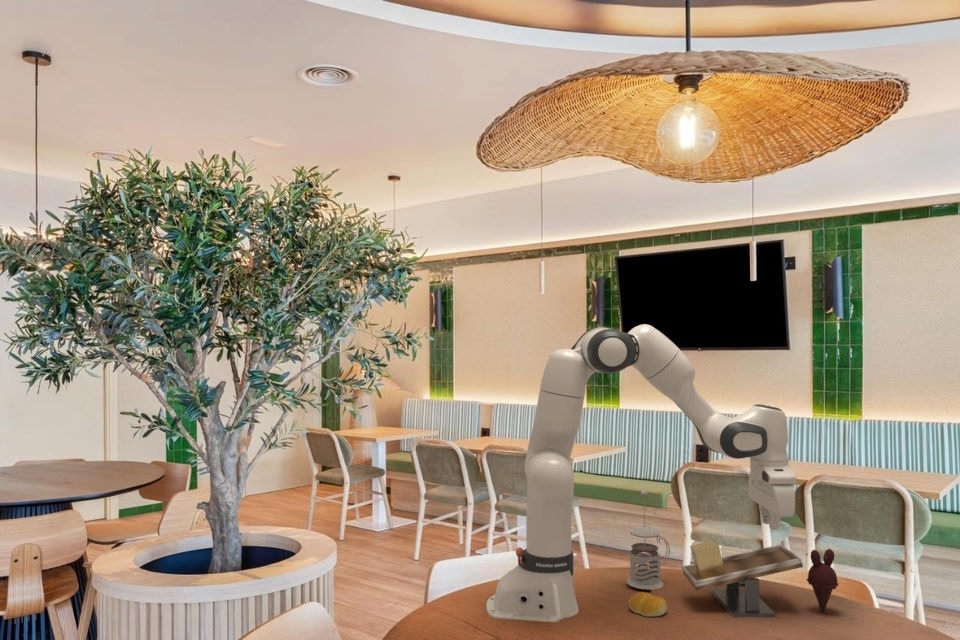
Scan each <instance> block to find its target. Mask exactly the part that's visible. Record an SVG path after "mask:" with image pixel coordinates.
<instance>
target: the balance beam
mask: <svg viewBox="0 0 960 640" xmlns="http://www.w3.org/2000/svg"><path fill="white" fill-rule="evenodd" d="M721 557H722V556H721ZM722 562H723V566H724V570H725V574H721V575H717V576H712V577H708V578H703V579H701V578H700V577H699V576H698V574H697V573H696V569H695V565H694V563H692V564H688V565H682V566H681V569H682V574H683V576H684V577H685V578H686V579H687V580H688V582H689V583H690V584H691V586H693V588H694V589H695V590H696V591H697V592H698V591H702V590H707V589H713V588H715V587H716V588H717V587H721V586H726V584H730V583H734V582H739V581H743V580H745V578H761V577H765V576H770V575H773V574H778V573H783V572H787V571H792V570H797V569H800V568H804V565H803V561H802V558H800V557H799V556H798V555H796V554H795V553H793V552H792V551H791V550H790V549H788V548H787V547H785V546H783V545H782V544H777V545H776V544H775V545H772V546H767V547H763V548H759V549H753V550H750V551H745V552H741V553H736V554H731V555H727V556H723V557H722ZM739 583H740V582H739Z"/></svg>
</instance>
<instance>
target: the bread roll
mask: <svg viewBox="0 0 960 640" xmlns="http://www.w3.org/2000/svg"><path fill="white" fill-rule="evenodd" d="M628 607H629V609H630V610H631V611H632V612H633V613H635V614H637V615H640V616H643V617H647V618H648V617H649V618H652V617H653V618H654V617H660V616H662V615H664V614H665V613H667V611H668V605H667V602H666V600H665V599H664V598H662V597H660V596H656V595H655V596H654V595H652V593H651V594H650V593H649V592H646V591H645V592H644V591H640V592H637V593H635V594H634V595H633V596H632V597H631V598H630V599H629V600H628Z"/></svg>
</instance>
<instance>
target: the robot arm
mask: <svg viewBox="0 0 960 640" xmlns="http://www.w3.org/2000/svg"><path fill="white" fill-rule="evenodd" d="M631 366H632V368H634V369H635V370H637V371H638V373H640V375H641V376H642V377H643V378H644V379H645V380H646V381H647V382H648V383H649V384H650V385H651V386H652V387H654V388H655V389H656V390H657V391H658V392H660V393H661V394H663V395H664V396H665V397H667V398H668V399H669V400H671V401H672V402H673V403H674V404H675V405H676V406H677V407H678V409H680V410H681V411H682V412H683V413H684V414H685V416H686V417H687V418H688V419H689V420H690V421H691V423H692V424H693V425H694V426H695V429H696V432H697V434H698V436H699V440H700V442H701V443H702V445H703V446H704V447H705V448H706V449H707V450H709V451H710V452H713V453H717V454H721V455H723V456H725V457H728V458H730V459H736V460H738V459H739V460H740V459H747V458H749V471H750V472H749V474H748V481H747V482H748V483H747V487H748V489H747V494H748V498H749V500H752V501H753V502H755V503H756V504H758V508H759V512H760V515H761V523H763V524H765V525H769V528H770V529H772V530H773V531H774V530H776V531H777V530H779V529H780V521H781V519H782V518H793V517H794V514H795V511H796V489H795V486H794V485H797V474H795V472H794V471H793V470H792V468H791V466H790V464H789V455H788V453H787V448H788V447H787V446H788V443H789V431H788V422H787V418H786V414H785V412H784V411H783V410H782V409H781V408H779V407H776V406H771V405H765V404H761V403H760V404H757V403H756V404H752V406H751V407H750V408H749V409H748V410H746V411H744V412H743V413H740V414H738V415H735V416H733V417H731V416H729V415H726V414H724V413H721V412H719V411H717V410H715V409H714V408H713V407H712V406H711V405H710V404H709V403H708V402H707V400H706V399H705V398H704V397H703V396H702V395H701V394H700V393H699V391H698V390H697V389H696V387H695V386H694V380H695V377H696V376H695V375H696V374H695V373H696V371H695V367H694V366H693V364H692V363H691V362H690V360H689V357H687V356H686V354H684V352H683V350H681V349H680V348H679V347H678V346H677V345H676V344H675V343H674V342H673V341H672V340H671V339H669V337H667V336H666V335H665V334H664V333H662V332H661V331H660V330H658V329H657V328H655V327H654V326H652V325H650V324H645V323H643V324H639V325H637V326H634V327H633V328H631V330H629V331H628V332H623V331H621V330H618V329H613V328H609V327H596V328H591V329H588V330H587V331H585V332H584V333H583V334H582V335H581V336H580V337H579V338H578V339H577V341H576V342H575V343H574V344H573V346H572V347H571V348H560V349H556V350H554V351H553V352H552V353H551V354H550V355H549V356H548V360H547V363H546V364H545V368H544V371H543V374H542V377H541V381H540V382H541V383H540V387H539V392H538V397H537V404H536V410H535V416H534V421H533V425H532V430H531V433H530V437H529V441H528V445H527V450H526V455H525V460H524V467H523V468H524V472H525V477H526V483H527V484H526V485H527V493H526V494H527V495H526V497H527V500H526V515H525V516H526V517H525V529H526V530H525V532H526V533H525V534H526V535H525V536H526V539H525V540H526V541H525V544H526V545H525V546H526V547H525V549H523V548H522V547H517V548H516V549H515V555H516V556H517V565H516V566H514V568H512V569H511V570H510V571H508V572H507V573H506V574H504V575H502V576H501V578H499V580H498V582H497V585H496V589H495V593H494V594H493V595H491V596H490V597H489V598H488V599H487V601H486V605H485V606H486V607H485V608H486V609H485V610H486V613H487V614H488V615H489V616H490V617H492V618H494V619H500V620H514V621H528V622H541V623H558V622H560V621H561V620H564V619H567V618H570V617H574V616H576V615H577V614H578V613H579V610H580V608H579V605H578V602H577V598H576V592H575V586H574V577H573V575H574V571H575V556H574V552H573V550H572V516H573V515H572V514H573V505H574V489H575V486H574V485H575V471H574V469H573V466H572V464H571V463H570V461H571V456H572V452H573V449H574V445H575V442H576V439H577V435H578V432H579V430H580V426H581V425H580V424H581V419H582V418H581V417H582V414H583V413H582V412H583V407H584V401H585V394H586V388H587V385H588V382H589V379H590V378H591V376H592V375H593V374H594V373H601V374H608V375H609V374H611V375H612V374H615V373H619V372H622V371H623V370H625V369H627V368H629V367H631Z"/></svg>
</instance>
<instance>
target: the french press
mask: <svg viewBox="0 0 960 640" xmlns="http://www.w3.org/2000/svg"><path fill="white" fill-rule="evenodd" d="M640 495H642V496H643V507H644V508H643V512H644V513H643V515H644V516H643V519H644V520H643V521H644V522H643V524H642V525H638V526H634V527H632V528H630V530H629V534H630V535H631V536H632V537H633V536H634V537H637V538H642V539H643V538H644V539H643V541H644V542H636V543H633V544H632V545H630V546H631V548H632V549H631V550H630V552H629V554H630V555H629V556H630V557H629V559H630V561H629V562H630V565H629V566H630V567H629V568H630V574H629V575H630V577H629V578H627V580H626V583H627V585H628V586H630V587H633V588H636V589H640V590H658V589H661V588H663V587H664V586H665V584H664V582H663V581H662V580H661V566H662V565H663V564H666V562H667V561H668V560H669V557H670V554H671V547H670V544H669V543H668V541H667V540H666V539H665V538H664V537H662V536H660V534H661V532H660V531H659V530H658V529H656V528H655V527H654V526H653V527H652V526H649V525H646V496H648V495H649V493H648V490H646V489H644V490H643V489H642V490H641V491H640ZM649 538H650V539H651V538H656V541H657V542H658V543H660V542H661V540H663V541H664V543H665V546H666V548H665V549H666V551H665V555H664V557H663V558H662V559H661V560H660V557H661V556H660V554H661V553H659V551H658V550H659V546H657V544H656V545H655V544H653V543H649V542H646V539H649ZM640 553H644V554H640ZM645 553H647V554H649V555H647V554H645ZM638 554H639V555H638ZM666 557H667V558H666ZM662 561H664V562H662Z"/></svg>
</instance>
